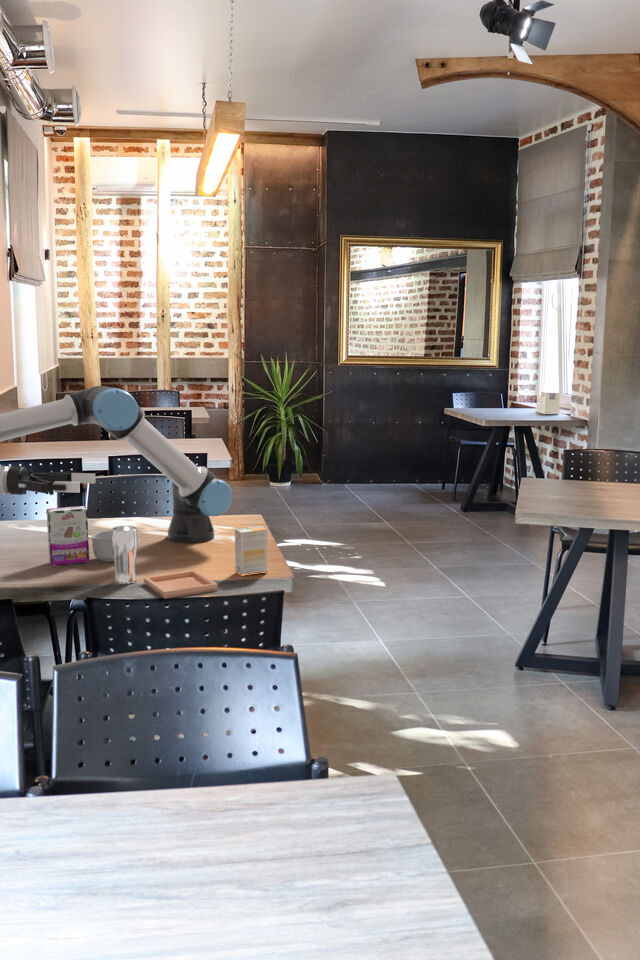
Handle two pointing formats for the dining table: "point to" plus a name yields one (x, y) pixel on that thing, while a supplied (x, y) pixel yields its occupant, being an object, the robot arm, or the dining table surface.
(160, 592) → the tray
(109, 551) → the teacup
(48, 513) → the candy bar box
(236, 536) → the supplement box
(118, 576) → the steel tumbler
